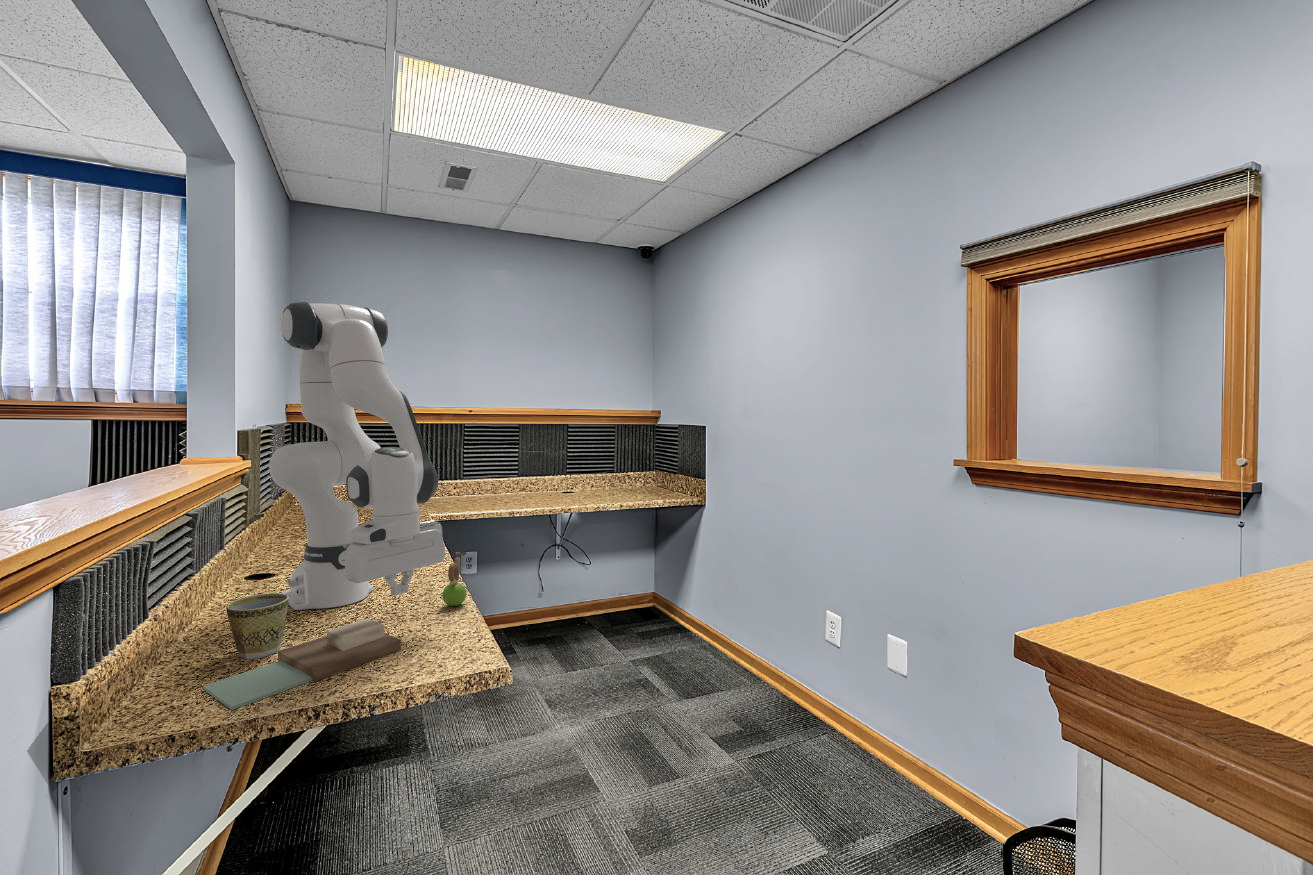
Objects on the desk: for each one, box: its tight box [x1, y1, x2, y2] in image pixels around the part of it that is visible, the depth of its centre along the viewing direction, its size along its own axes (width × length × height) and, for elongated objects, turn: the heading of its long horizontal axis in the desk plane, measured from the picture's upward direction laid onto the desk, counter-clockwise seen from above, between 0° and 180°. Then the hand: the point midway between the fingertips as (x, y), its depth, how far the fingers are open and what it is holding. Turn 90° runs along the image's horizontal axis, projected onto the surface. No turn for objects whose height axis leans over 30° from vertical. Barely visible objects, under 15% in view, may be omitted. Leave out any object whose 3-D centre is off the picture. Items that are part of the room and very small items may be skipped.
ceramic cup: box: [225, 592, 289, 660], centre depth 115 cm, size 13×10×10 cm
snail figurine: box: [441, 551, 467, 607], centre depth 140 cm, size 5×6×12 cm
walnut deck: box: [277, 632, 402, 682], centre depth 112 cm, size 14×16×2 cm
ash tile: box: [326, 617, 385, 651], centre depth 114 cm, size 6×8×2 cm
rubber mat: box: [202, 660, 313, 711], centre depth 100 cm, size 12×12×1 cm
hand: (399, 593), depth 121 cm, fingers closed
